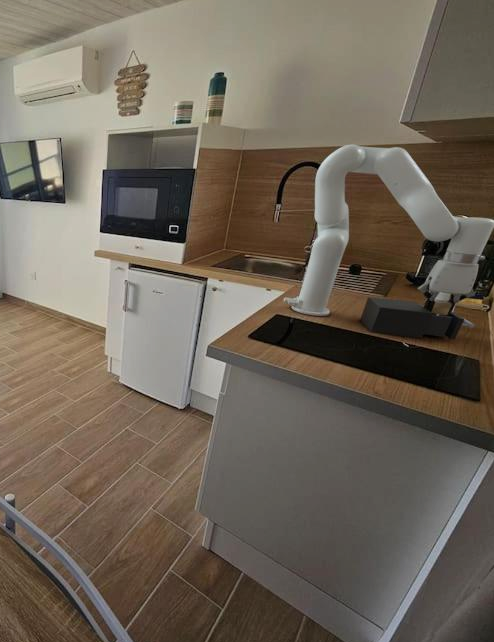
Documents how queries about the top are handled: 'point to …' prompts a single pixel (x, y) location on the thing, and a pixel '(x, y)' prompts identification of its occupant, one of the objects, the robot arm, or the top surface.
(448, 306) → the block
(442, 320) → the drawer
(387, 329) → the dark grey rectangular box
